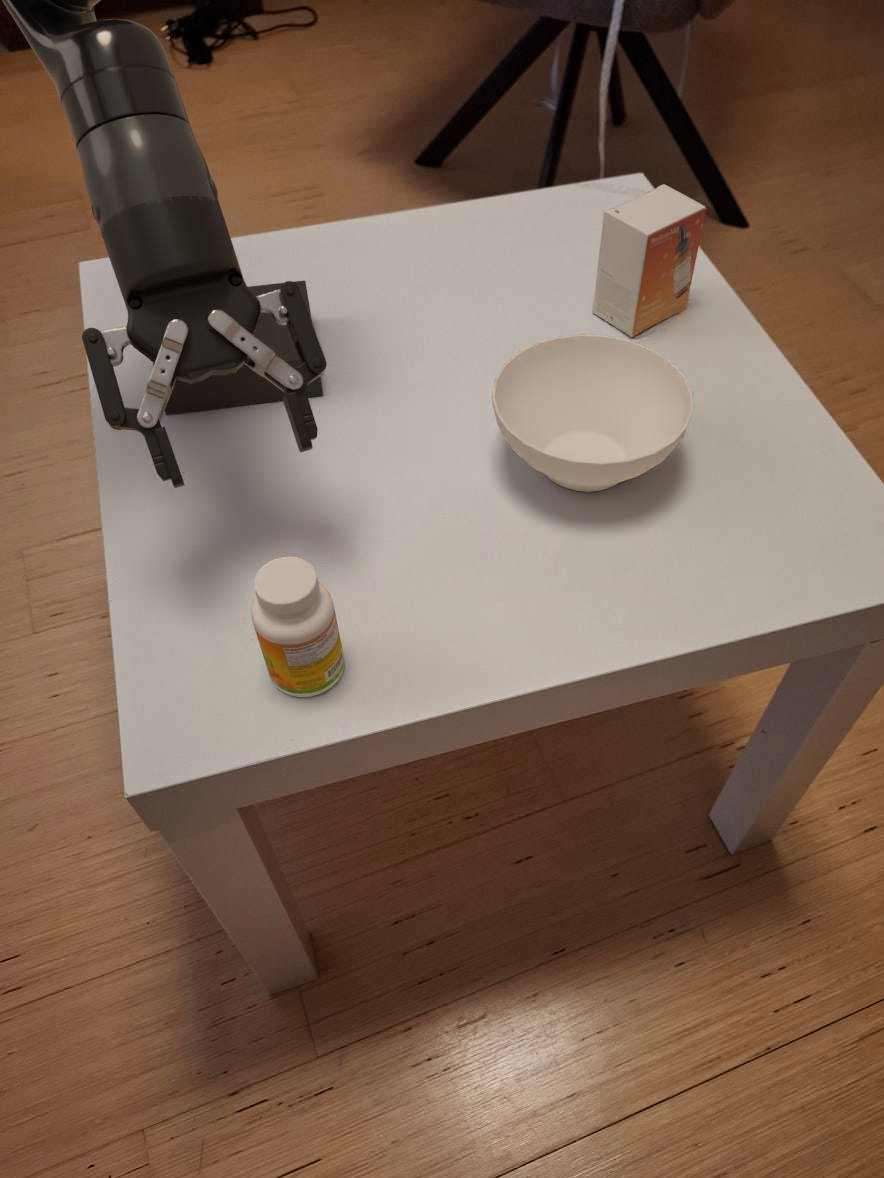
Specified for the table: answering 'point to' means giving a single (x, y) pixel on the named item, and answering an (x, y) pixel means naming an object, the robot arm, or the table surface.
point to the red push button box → (244, 371)
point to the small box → (647, 259)
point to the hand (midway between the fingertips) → (243, 468)
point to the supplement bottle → (296, 627)
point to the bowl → (591, 409)
